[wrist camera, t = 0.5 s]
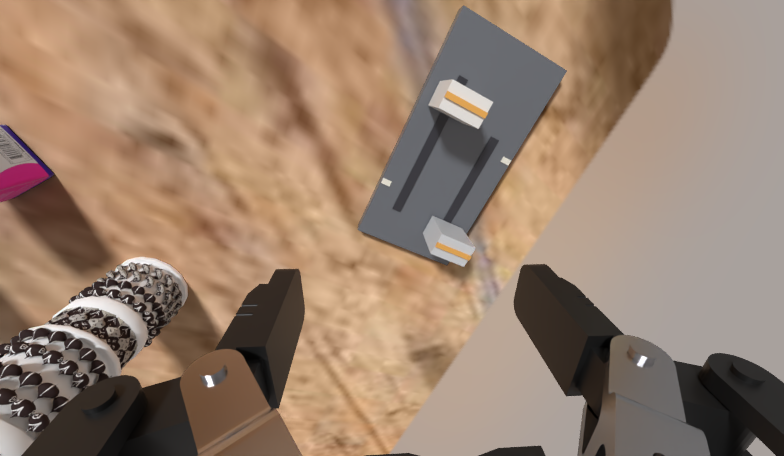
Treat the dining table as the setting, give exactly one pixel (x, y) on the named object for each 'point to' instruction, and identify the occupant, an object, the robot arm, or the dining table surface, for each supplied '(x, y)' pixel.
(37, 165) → the supplement box
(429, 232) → the grey fader
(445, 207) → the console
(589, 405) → the robot arm
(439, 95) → the white fader
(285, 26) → the dining table surface
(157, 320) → the decorative candle
